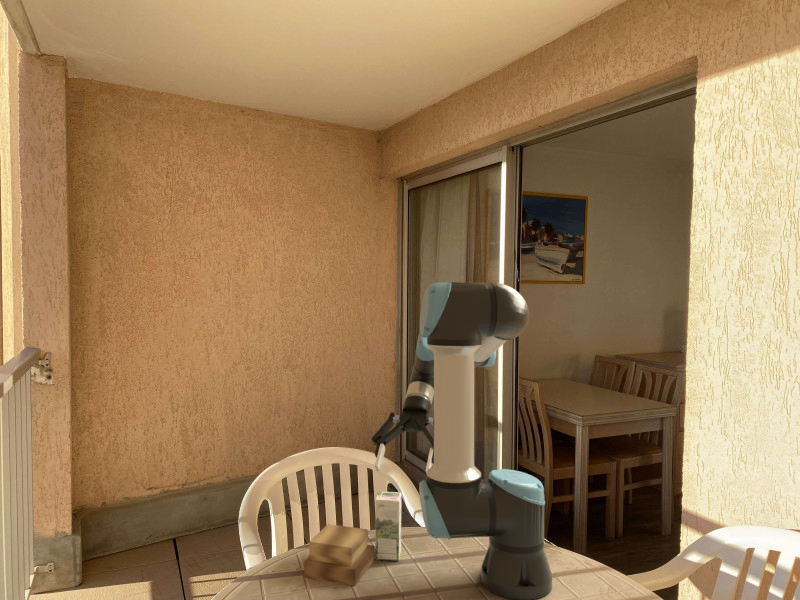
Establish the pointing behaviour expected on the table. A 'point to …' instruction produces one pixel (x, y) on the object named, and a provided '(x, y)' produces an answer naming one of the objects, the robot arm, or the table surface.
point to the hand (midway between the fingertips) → (402, 471)
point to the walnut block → (340, 569)
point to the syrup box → (388, 526)
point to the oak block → (338, 544)
